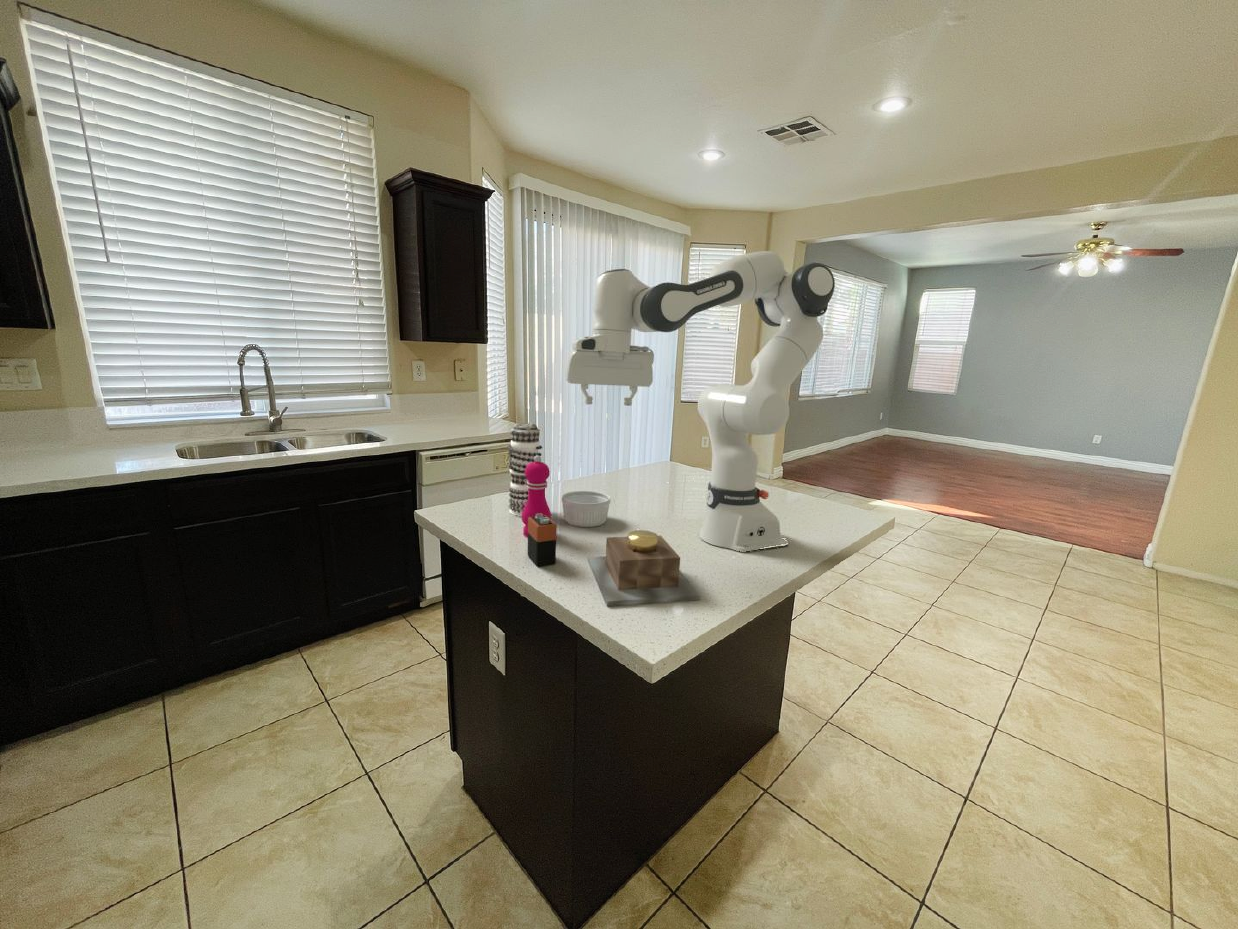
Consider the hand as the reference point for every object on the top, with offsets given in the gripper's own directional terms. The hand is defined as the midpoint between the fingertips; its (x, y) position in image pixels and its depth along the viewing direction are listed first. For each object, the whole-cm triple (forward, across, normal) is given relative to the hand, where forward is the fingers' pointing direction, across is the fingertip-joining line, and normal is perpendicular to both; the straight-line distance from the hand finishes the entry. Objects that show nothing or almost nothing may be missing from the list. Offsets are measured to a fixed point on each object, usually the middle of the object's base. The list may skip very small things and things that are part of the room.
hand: (608, 404), depth 114 cm
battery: (+33, +16, +12) cm, 39 cm away
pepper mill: (+33, +16, -4) cm, 37 cm away
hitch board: (+33, -3, +24) cm, 41 cm away
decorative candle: (+33, +18, -22) cm, 44 cm away
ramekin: (+33, +2, -13) cm, 36 cm away
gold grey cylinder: (+32, -3, +24) cm, 40 cm away
